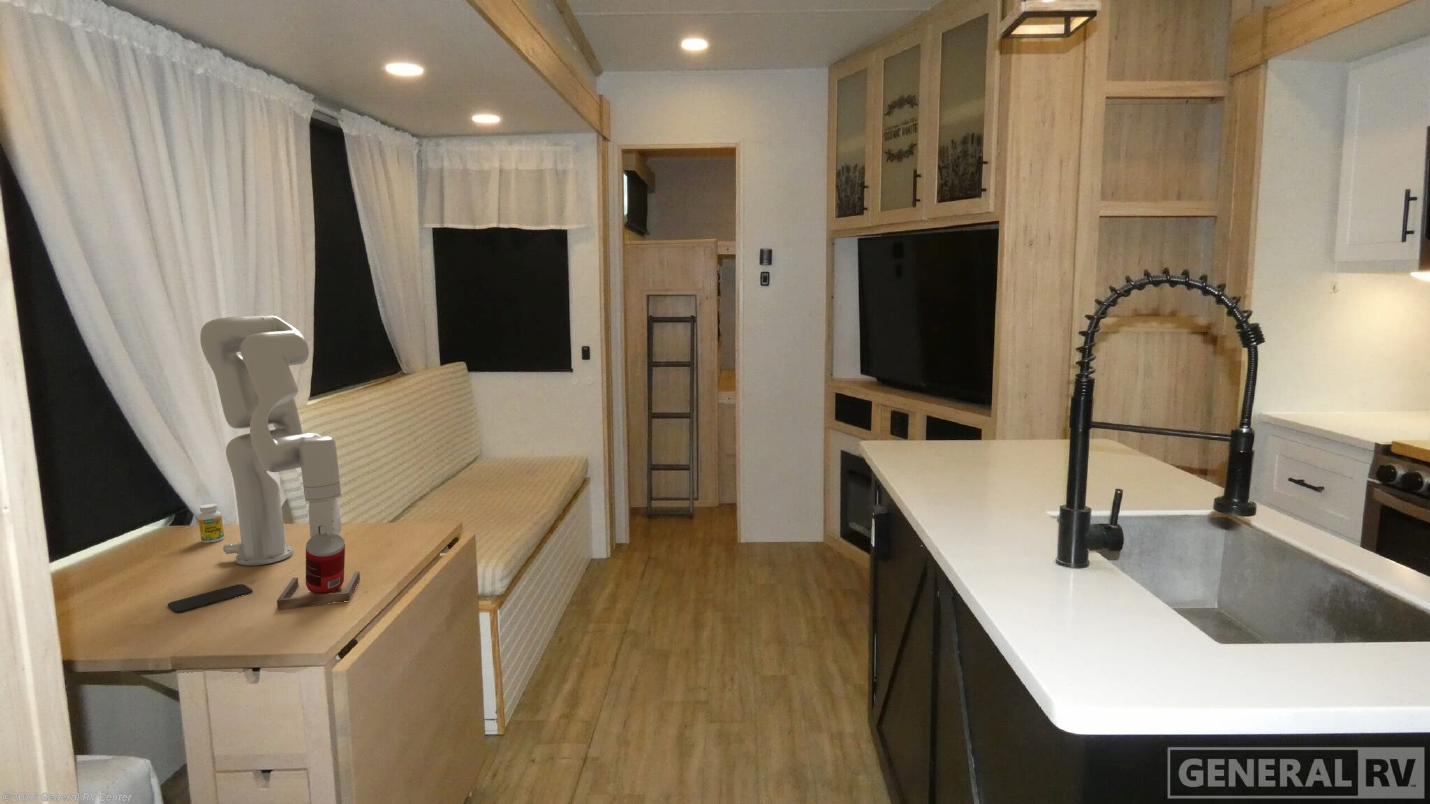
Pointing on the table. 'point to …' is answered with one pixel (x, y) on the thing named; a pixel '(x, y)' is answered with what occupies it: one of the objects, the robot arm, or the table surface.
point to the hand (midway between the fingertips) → (332, 569)
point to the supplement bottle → (210, 523)
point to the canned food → (325, 563)
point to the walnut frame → (303, 601)
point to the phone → (209, 598)
